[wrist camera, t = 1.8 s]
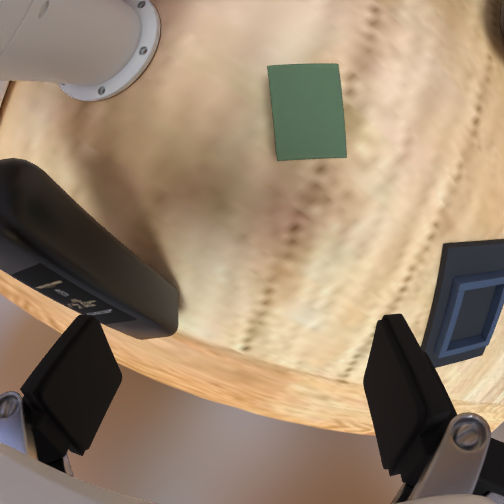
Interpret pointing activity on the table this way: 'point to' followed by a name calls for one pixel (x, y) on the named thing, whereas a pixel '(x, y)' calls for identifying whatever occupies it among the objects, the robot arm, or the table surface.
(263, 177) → the table surface
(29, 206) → the wine bottle
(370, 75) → the table surface
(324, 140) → the green block
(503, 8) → the bowl
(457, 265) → the black pad
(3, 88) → the earbud case
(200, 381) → the table surface
